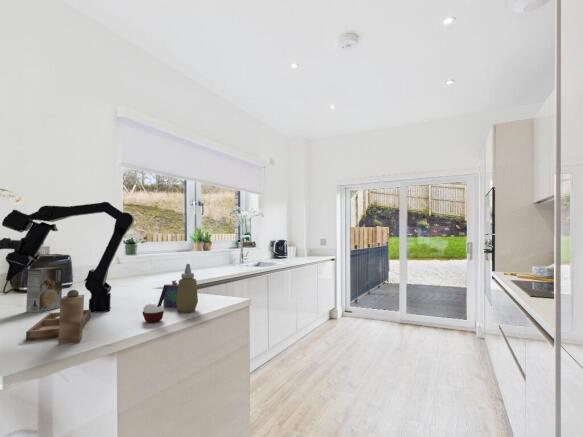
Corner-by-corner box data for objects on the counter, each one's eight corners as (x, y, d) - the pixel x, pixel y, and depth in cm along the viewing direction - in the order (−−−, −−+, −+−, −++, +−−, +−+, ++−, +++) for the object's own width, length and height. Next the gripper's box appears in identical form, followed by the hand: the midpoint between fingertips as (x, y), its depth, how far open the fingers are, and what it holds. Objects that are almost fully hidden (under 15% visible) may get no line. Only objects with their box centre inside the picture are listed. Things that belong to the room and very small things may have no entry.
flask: (161, 306, 127) (162, 280, 127) (166, 305, 129) (167, 279, 130) (180, 308, 124) (181, 281, 124) (185, 307, 126) (186, 280, 127)
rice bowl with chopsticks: (139, 322, 105) (138, 286, 106) (157, 318, 110) (156, 283, 110) (151, 326, 98) (150, 288, 99) (170, 322, 103) (169, 285, 104)
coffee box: (48, 306, 126) (50, 266, 127) (61, 307, 125) (63, 267, 126) (25, 312, 117) (27, 269, 118) (39, 312, 116) (41, 269, 117)
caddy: (90, 316, 110) (91, 309, 111) (78, 335, 89) (79, 326, 90) (49, 320, 105) (49, 312, 105) (25, 341, 84) (26, 331, 84)
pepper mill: (82, 337, 87) (84, 287, 88) (79, 342, 83) (81, 290, 84) (62, 340, 85) (64, 289, 86) (58, 345, 81) (60, 291, 82)
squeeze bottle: (177, 314, 114) (178, 265, 115) (174, 310, 121) (175, 263, 122) (199, 312, 117) (200, 264, 119) (195, 308, 125) (196, 262, 126)
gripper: (16, 228, 118) (-8, 266, 115) (0, 229, 102) (-28, 274, 98) (49, 239, 123) (28, 276, 120) (39, 242, 107) (14, 286, 103)
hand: (11, 278), depth 110 cm, fingers open, 9 cm apart
